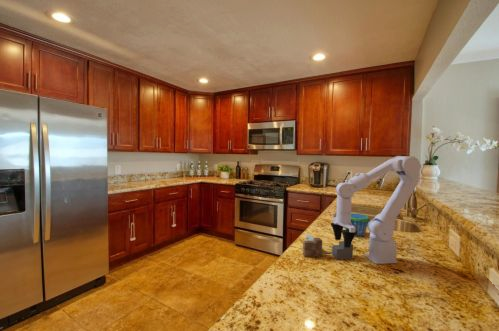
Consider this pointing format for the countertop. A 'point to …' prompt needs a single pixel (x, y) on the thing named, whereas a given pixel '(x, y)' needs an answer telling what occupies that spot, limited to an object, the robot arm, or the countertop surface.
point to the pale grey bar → (309, 238)
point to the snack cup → (359, 223)
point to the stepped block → (342, 251)
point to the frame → (313, 248)
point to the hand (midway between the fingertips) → (342, 243)
